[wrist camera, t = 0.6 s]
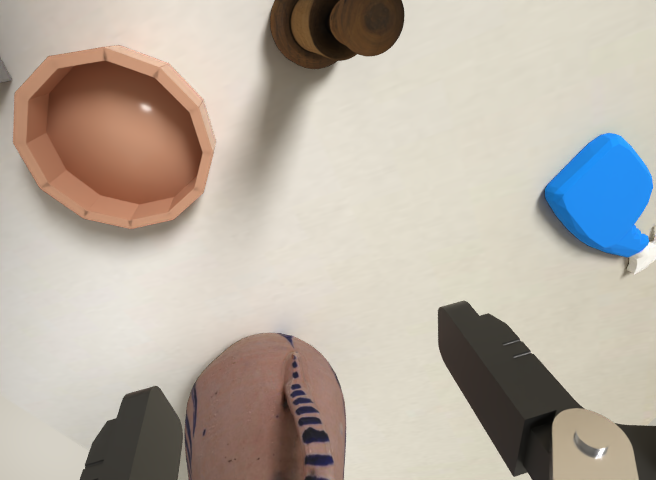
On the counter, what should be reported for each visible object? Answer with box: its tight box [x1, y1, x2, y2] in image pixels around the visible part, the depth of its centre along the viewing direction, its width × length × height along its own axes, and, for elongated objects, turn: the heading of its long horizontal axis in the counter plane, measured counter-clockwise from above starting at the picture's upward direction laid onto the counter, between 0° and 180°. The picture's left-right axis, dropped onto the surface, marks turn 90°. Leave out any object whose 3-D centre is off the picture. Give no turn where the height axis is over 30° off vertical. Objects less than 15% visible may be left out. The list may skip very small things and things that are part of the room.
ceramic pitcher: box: [185, 333, 346, 480], centre depth 37 cm, size 18×21×25 cm
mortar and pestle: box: [270, 0, 404, 69], centre depth 23 cm, size 7×6×18 cm
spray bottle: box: [545, 133, 656, 274], centre depth 48 cm, size 3×11×24 cm
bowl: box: [13, 45, 216, 229], centre depth 31 cm, size 14×14×4 cm
